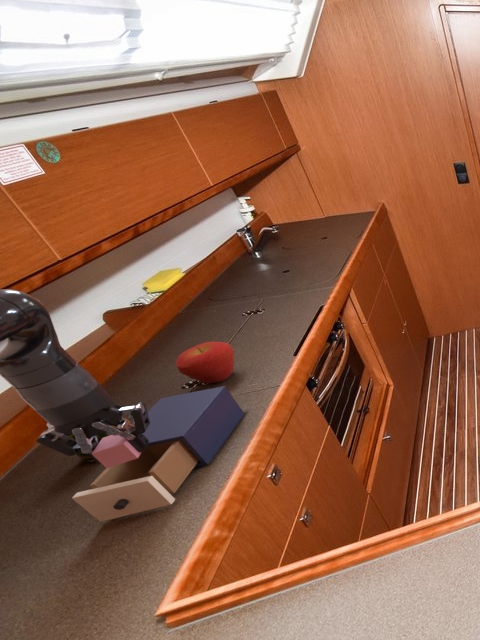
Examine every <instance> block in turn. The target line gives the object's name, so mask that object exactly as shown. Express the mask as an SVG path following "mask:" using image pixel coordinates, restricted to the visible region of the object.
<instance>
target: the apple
mask: <svg viewBox="0 0 480 640" xmlns="http://www.w3.org/2000/svg"><path fill="white" fill-rule="evenodd" d="M234 364H235V355H234V348H233V347H232V346H231V345H230V344H229V343H228V342H222V341H207V342H203V343H199V344H197V345H193V346H192V347H191V348H188V349H186V350H185V351H183V352H182V353H180V354H179V356H178V357H177V359H176V361H175V366H176V368H177V370H178V371H179V373H180V374H182V375H184V376H186V377H188V378H190V379H192V380H195V381H197V382H200V383H203V384H216V383H221V382H223V381H225V380H227V379H228V378H229V377H230V376H231V375H232V373H233V372H234V367H235V366H234Z"/></svg>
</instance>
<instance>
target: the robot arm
mask: <svg viewBox="0 0 480 640" xmlns="http://www.w3.org/2000/svg"><path fill="white" fill-rule="evenodd" d="M5 340H6V345H5V346H4V347H3V348H2V349H1V350H0V377H1V378H3V379H4V381H6V382H7V383H8V384H9V385H10V386H11V387H12V388H13V389H14V390H15V391H16V393H17V395H18V396H19V397H20V398H21V399H22V400H23V401H24V402H25V403H26V404H27V405H28V406H30V408H32V409H33V410H34V411H35V412H36V413H37V414H38V415H39V416H40V417H41V418H42V419H43V420H44V421H46V422H47V423H49V424H50V425H53V426H54V428H53V429H48V428H47V429H45V430H44V431H43V432H42V433H41V434H40V435H39V436H38V438H37V439H36V442H37V443H38V444H40V445H42V446H45V447H47V448H49V449H52V450H54V451H56V452H58V453H61V454H63V455H66V456H67V457H73V456H75V455H76V453H84V454H88V455H89V456H91V457H92V458H93V459H94V460H95V461H94V462H96V463H98V464H101V463H100V462H99V461H98V460H97V459H96V458H95V457H94V456H93V455H92V452H93V451H94V449H95V448H96V447H97V445H98V439H97V436H96V435H98V434H102V433H107V434H110V435H114V436H117V435H119V436H121V437H123V438H125V439H127V440H128V442H129V443H130V444H131V445H132V446H133V447H134V448H135V449H136V450H137V451H138V452H143V451H145V449H146V448H147V446H148V444H149V440H148V439H147V438H146V437H145V436H144V435H143V433H145V431H146V430H147V428H148V426H149V425H150V420H149V416H148V409H147V405H146V403H145V402H143V401H139V402H137V403H136V404H135V405H130V406H123V405H121V404H119V403H116V402H115V401H114V399H113V397H112V395H110V393H108V391H107V390H106V389H105V388H104V387H103V386H102V384H100V383H99V382H98V381H97V380H96V379H95V378H94V377H93V375H92V374H91V373H90V372H89V371H88V370H87V369H86V368H84V367H82V366H81V365H80V364H79V363H78V362H76V361H77V360H75V359H74V357H72V356H71V355H70V354H69V353H68V351H66V349H64V347H62V345H61V344H60V341H59V337H58V334H57V332H56V329H55V326H54V323H53V321H52V317H51V315H50V313H49V310H48V309H47V308H46V306H45V305H44V303H42V302H41V301H40V300H39V299H37V298H36V297H35V296H33V295H31V294H29V293H27V292H24V291H20V290H16V289H8V288H7V289H6V288H5V289H4V288H3V289H0V343H1V342H3V341H5ZM123 415H126V416H127V417H128V418H126V417H124V416H123ZM129 419H131V420H132V422H133V423H132V422H131V420H129ZM65 434H68V435H73V436H75V438H76V440H75V439H73V438H71V437H69V436H67V435H65ZM67 445H68V446H67ZM69 446H70V447H69Z"/></svg>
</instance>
